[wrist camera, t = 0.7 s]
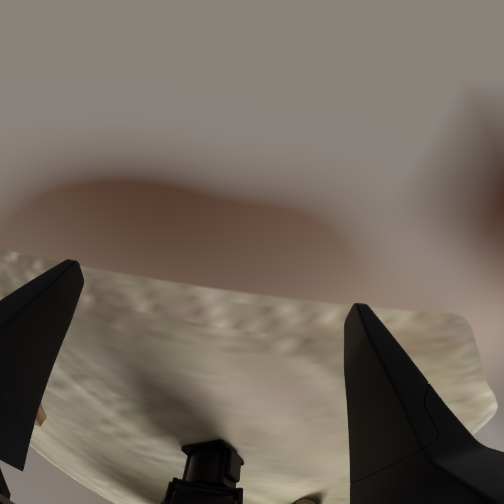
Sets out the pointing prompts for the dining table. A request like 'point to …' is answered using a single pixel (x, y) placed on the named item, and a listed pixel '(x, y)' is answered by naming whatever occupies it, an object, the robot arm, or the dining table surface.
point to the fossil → (305, 502)
